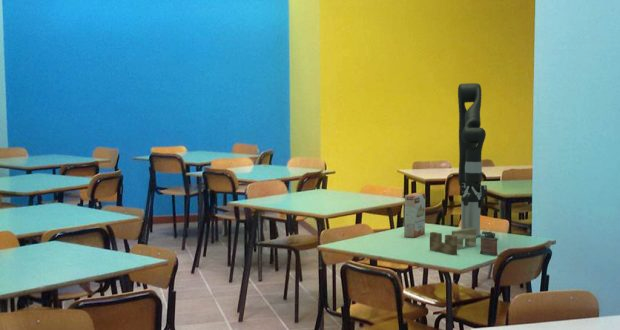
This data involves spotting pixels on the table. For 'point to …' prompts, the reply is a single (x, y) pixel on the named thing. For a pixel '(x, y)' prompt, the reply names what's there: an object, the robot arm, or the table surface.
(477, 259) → the table surface
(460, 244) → the beech plate
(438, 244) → the notched brown block
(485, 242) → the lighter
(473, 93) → the robot arm
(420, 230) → the cracker box
